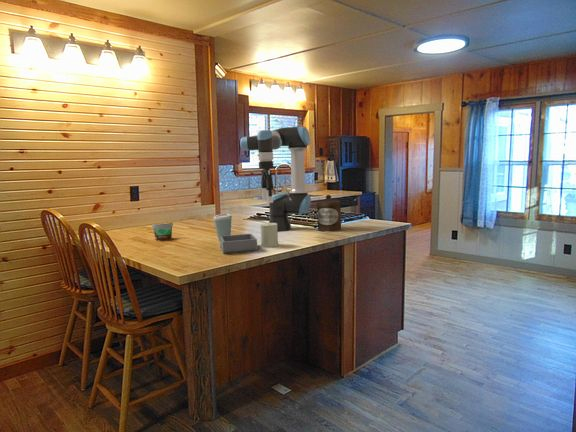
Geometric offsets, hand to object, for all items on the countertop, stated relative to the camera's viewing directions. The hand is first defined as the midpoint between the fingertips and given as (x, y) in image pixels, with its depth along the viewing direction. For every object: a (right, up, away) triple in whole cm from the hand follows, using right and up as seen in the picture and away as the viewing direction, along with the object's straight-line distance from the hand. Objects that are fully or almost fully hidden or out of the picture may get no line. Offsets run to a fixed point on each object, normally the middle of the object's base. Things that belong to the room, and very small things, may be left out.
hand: (267, 201), depth 216 cm
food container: (-64, -22, +31) cm, 74 cm away
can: (+1, -23, +3) cm, 24 cm away
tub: (-15, -25, -3) cm, 29 cm away
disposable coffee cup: (-26, -22, +21) cm, 40 cm away
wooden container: (+37, -16, +44) cm, 60 cm away
